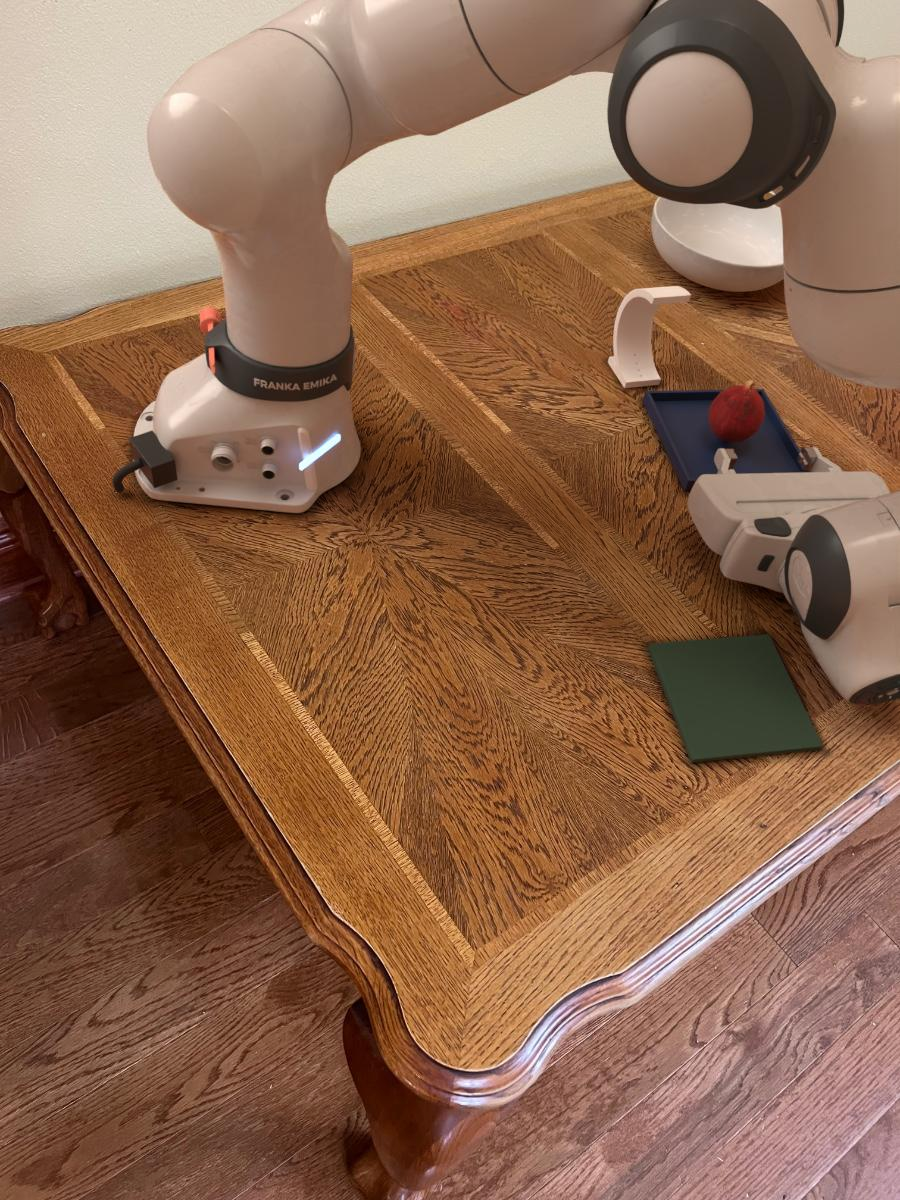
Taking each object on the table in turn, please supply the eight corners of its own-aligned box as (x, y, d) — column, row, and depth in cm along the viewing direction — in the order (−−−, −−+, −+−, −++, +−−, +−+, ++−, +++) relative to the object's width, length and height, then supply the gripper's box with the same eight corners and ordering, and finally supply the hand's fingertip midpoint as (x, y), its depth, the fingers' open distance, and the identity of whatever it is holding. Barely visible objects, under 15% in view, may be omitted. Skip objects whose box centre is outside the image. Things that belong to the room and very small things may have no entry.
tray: (684, 491, 99) (688, 480, 98) (642, 401, 108) (645, 390, 107) (809, 486, 102) (815, 476, 101) (758, 398, 111) (763, 388, 110)
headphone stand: (624, 388, 109) (653, 298, 100) (604, 357, 113) (630, 266, 104) (659, 384, 111) (691, 295, 102) (638, 353, 114) (667, 264, 105)
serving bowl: (807, 267, 133) (828, 221, 127) (758, 333, 120) (779, 285, 115) (674, 213, 138) (689, 167, 133) (614, 271, 126) (628, 222, 120)
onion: (750, 462, 103) (778, 405, 97) (698, 451, 103) (723, 392, 97) (749, 429, 107) (777, 372, 101) (700, 418, 107) (724, 360, 101)
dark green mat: (690, 763, 78) (693, 759, 77) (646, 647, 85) (648, 643, 85) (820, 749, 80) (823, 746, 80) (766, 637, 88) (769, 634, 87)
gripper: (932, 525, 88) (868, 427, 96) (731, 532, 84) (683, 429, 92) (899, 569, 93) (841, 472, 101) (707, 578, 89) (664, 476, 97)
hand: (764, 452), depth 97 cm, fingers open, 8 cm apart
